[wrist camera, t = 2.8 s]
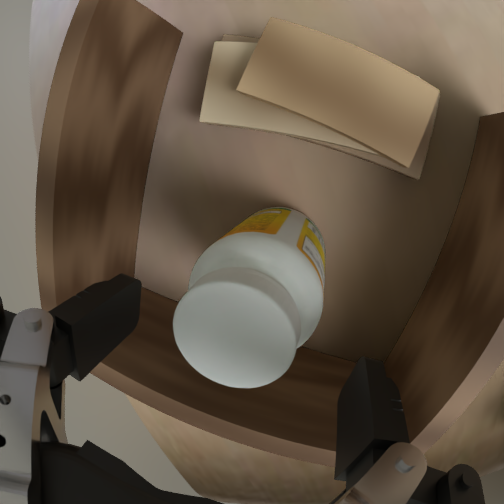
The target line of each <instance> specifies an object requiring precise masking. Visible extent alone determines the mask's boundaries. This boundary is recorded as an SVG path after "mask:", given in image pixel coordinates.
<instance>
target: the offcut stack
mask: <svg viewBox="0 0 504 504" xmlns="http://www.w3.org/2000/svg"><path fill="white" fill-rule="evenodd" d="M439 92H440V90H438V89H437V88H435V87H434V86H432V85H430V84H429V83H427V82H425V81H424V80H422V79H420V77H419V76H416V75H413V74H412V73H410V72H408V71H406V70H405V69H403V68H401V67H399V66H397V65H395V64H393V63H391V62H389V61H387V60H385V59H383V58H381V57H379V56H377V55H375V54H373V53H371V52H369V51H366V50H364V49H362V48H360V47H357V46H355V45H353V44H350V43H348V42H346V41H343V40H341V39H338V38H335V37H333V36H330V35H327V34H325V33H322V32H319V31H316V30H313V29H310V28H307V27H304V26H301V25H298V24H295V23H291V22H288V21H284V20H281V19H277V18H273V17H270V19H269V21H268V23H267V25H266V27H265V29H264V31H263V33H262V35H261V37H260V38H253V37H246V36H237V35H227V34H224V35H223V38H222V41H215V43H214V47H213V52H212V57H211V61H210V66H209V71H208V76H207V81H206V86H205V92H204V97H203V103H202V108H201V114H200V120H199V122H203V123H207V124H212V125H221V126H229V127H237V128H244V129H251V130H258V131H264V132H271V133H276V134H282V135H287V136H291V137H294V138H298V139H302V140H305V141H308V142H312V143H315V144H318V145H322V146H325V147H328V148H331V149H334V150H337V151H340V152H343V153H346V154H349V155H352V156H355V157H358V158H361V159H364V160H366V161H369V162H372V163H375V164H377V165H380V166H383V167H385V168H388V169H390V170H393V171H395V172H398V173H400V174H403V175H405V176H408V177H410V178H413V179H417V180H419V179H420V176H421V172H422V169H423V165H424V162H425V158H426V155H427V151H428V147H429V143H430V139H431V135H432V131H433V127H434V122H435V118H436V113H437V109H438V104H439V99H440V93H439Z"/></svg>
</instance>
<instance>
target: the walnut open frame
mask: <svg viewBox="0 0 504 504" xmlns="http://www.w3.org/2000/svg"><path fill="white" fill-rule="evenodd" d="M182 35H183V33H182V32H181V31H180V30H178V29H177V28H176V27H174V26H173V25H172V24H170V23H169V22H167V21H166V20H164V19H163V18H162V17H160V16H159V15H157V14H156V13H154V12H153V11H151V10H150V9H148V8H147V7H145V6H144V5H142V4H141V3H139V2H138V1H136V0H80V1H79V3H78V6H77V8H76V10H75V13H74V15H73V18H72V20H71V23H70V26H69V28H68V31H67V34H66V37H65V40H64V43H63V46H62V49H61V52H60V55H59V59H58V62H57V66H56V69H55V73H54V77H53V81H52V85H51V89H50V94H49V98H48V103H47V108H46V113H45V118H44V124H43V131H42V137H41V145H40V153H39V162H38V174H37V187H36V255H37V271H38V282H39V291H40V300H41V307H42V309H43V310H45V311H47V312H49V311H50V310H52V309H53V308H55V307H56V306H58V305H60V304H61V303H63V302H64V301H66V300H68V299H69V298H71V297H72V296H76V294H77V293H79V292H81V291H84V289H85V288H87V287H89V286H90V285H92V284H94V283H98V282H102V281H109V280H110V279H112V278H114V277H115V276H117V275H119V274H120V273H123V274H126V275H128V276H130V277H133V278H134V270H135V259H136V249H137V240H138V231H139V224H140V216H141V209H142V202H143V196H144V189H145V183H146V178H147V172H148V167H149V161H150V156H151V151H152V146H153V141H154V137H155V132H156V128H157V123H158V119H159V115H160V111H161V107H162V103H163V99H164V95H165V91H166V87H167V84H168V80H169V77H170V73H171V70H172V66H173V63H174V60H175V56H176V53H177V50H178V47H179V44H180V41H181V38H182ZM177 305H178V302H176V301H173V300H171V299H168V298H166V297H164V296H161V295H159V294H156V293H154V292H152V291H149V290H147V289H145V288H142V287H141V300H140V315H139V321H138V324H137V326H136V328H135V329H134V331H133V332H132V333H131V334H130V335H128V336H127V337H126V338H125V339H124V340H123V341H122V342H121V343H120V344H119V345H118V346H117V347H116V348H115V349H114V350H113V351H112V352H111V353H109V354H108V355H107V356H106V357H105V358H104V359H103V360H102V361H101V362H100V363H99V364H98V365H97V366H96V367H95V368H94V369H93V370H92V371H91V372H90V373H91V374H93V375H94V376H96V377H98V378H99V379H101V380H103V381H104V382H106V383H108V384H109V385H111V386H113V387H115V388H116V389H118V390H120V391H122V392H124V393H125V394H127V395H129V396H131V397H133V398H135V399H137V400H139V401H141V402H143V403H144V404H146V405H148V406H150V407H153V408H155V409H157V410H159V411H161V412H163V413H165V414H167V415H169V416H172V417H174V418H176V419H178V420H181V421H183V422H185V423H188V424H190V425H192V426H195V427H197V428H200V429H202V430H205V431H207V432H210V433H213V434H215V435H218V436H221V437H223V438H226V439H229V440H232V441H235V442H238V443H241V444H244V445H247V446H250V447H253V448H257V449H260V450H263V451H267V452H270V453H274V454H277V455H281V456H285V457H289V458H293V459H297V460H302V461H306V462H311V463H315V464H320V465H325V466H331V467H335V461H336V441H337V403H338V398H339V395H340V392H341V390H342V388H343V386H344V384H345V383H346V381H347V379H348V378H349V376H350V374H351V372H352V371H353V369H354V367H355V365H356V364H357V363H355V362H352V361H348V360H344V359H341V358H337V357H334V356H331V355H327V354H324V353H320V352H317V351H314V350H311V349H307V348H304V347H301V346H300V347H299V348H297V349H296V353H295V357H294V359H293V361H292V363H291V365H290V367H289V368H288V370H287V371H286V372H285V373H284V374H283V375H282V376H281V377H279V378H278V379H277V380H275V381H273V382H271V383H269V384H267V385H264V386H260V387H256V388H235V387H229V386H225V385H222V384H219V383H217V382H215V381H212V380H210V379H209V378H207V377H205V376H203V375H202V374H200V373H199V372H198V371H197V370H196V369H194V368H193V367H192V366H191V365H190V364H189V363H188V361H187V360H186V359H185V358H184V356H183V355H182V353H181V351H180V350H179V348H178V346H177V344H176V341H175V337H174V331H173V318H174V313H175V310H176V307H177ZM503 359H504V112H502V113H497V114H492V115H487V116H482V117H480V123H479V128H478V133H477V138H476V142H475V147H474V151H473V155H472V160H471V163H470V167H469V171H468V175H467V178H466V182H465V185H464V189H463V192H462V195H461V198H460V202H459V205H458V208H457V211H456V214H455V216H454V219H453V222H452V225H451V228H450V230H449V233H448V236H447V238H446V241H445V243H444V246H443V248H442V251H441V253H440V256H439V258H438V261H437V263H436V265H435V268H434V270H433V272H432V274H431V277H430V279H429V281H428V283H427V285H426V287H425V290H424V292H423V294H422V296H421V298H420V300H419V302H418V304H417V306H416V308H415V310H414V312H413V314H412V316H411V317H410V319H409V321H408V323H407V325H406V327H405V329H404V330H403V332H402V334H401V336H400V337H399V339H398V341H397V343H396V344H395V346H394V348H393V350H392V351H391V353H390V355H389V356H388V358H387V360H386V361H385V363H384V368H385V372H386V377H388V378H392V380H393V381H394V383H395V384H396V386H397V387H398V389H399V392H400V397H401V403H402V406H403V412H404V415H405V420H406V425H407V430H408V435H409V441H410V444H412V445H414V446H415V447H417V448H418V449H419V450H420V451H421V452H422V453H423V454H424V453H425V452H426V451H427V450H428V449H429V448H430V447H431V446H432V445H433V444H434V443H435V442H436V441H437V440H438V439H439V438H440V437H441V436H442V435H443V434H444V433H445V432H446V431H447V430H448V429H449V428H450V427H451V426H452V425H453V424H454V422H455V421H456V420H457V419H458V418H459V417H460V416H461V415H462V413H463V412H464V411H465V410H466V409H467V408H468V406H469V405H470V404H471V403H472V401H473V400H474V399H475V398H476V396H477V395H478V394H479V393H480V391H481V390H482V389H483V387H484V386H485V385H486V383H487V382H488V381H489V379H490V378H491V377H492V375H493V374H494V372H495V371H496V370H497V368H498V367H499V365H500V364H501V362H502V361H503Z"/></svg>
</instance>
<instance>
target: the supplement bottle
mask: <svg viewBox="0 0 504 504" xmlns="http://www.w3.org/2000/svg"><path fill="white" fill-rule="evenodd" d="M324 278H325V245H324V241H323V238H322V235H321V233H320V231H319V230H318V228H317V227H316V225H315V224H314V223H313V222H312V221H311V220H310V219H309V218H308V217H307V216H305V215H304V214H302V213H301V212H298V211H296V210H294V209H290V208H286V207H272V208H267V209H263V210H260V211H258V212H256V213H254V214H252V215H251V216H249V217H248V218H247V219H245V220H244V221H243V222H241V223H240V224H239V225H237V226H236V227H235V228H233V229H232V230H231V231H229V232H228V233H227V234H225V235H224V236H223V237H221V238H220V239H218V240H217V241H216V242H215V243H213V244H212V245H211V246H210V247H208V248H207V249H206V250H205V251H204V252H203V253H202V255H201V256H200V257H199V259H198V260H197V262H196V263H195V265H194V267H193V270H192V273H191V276H190V280H189V287H188V291H187V292H186V293H185V295H184V296H183V297H182V299H181V300H180V301H179V303H178V305H177V307H176V310H175V313H174V318H173V331H174V337H175V341H176V344H177V346H178V348H179V350H180V351H181V353H182V355H183V356H184V358H185V359H186V360H187V361H188V363H189V364H190V365H191V366H192V367H193V368H194V369H196V370H197V371H198V372H199V373H200V374H202V375H203V376H205V377H207V378H209V379H210V380H212V381H215V382H217V383H219V384H222V385H225V386H229V387H235V388H256V387H260V386H264V385H267V384H269V383H271V382H273V381H275V380H277V379H278V378H279V377H281V376H282V375H283V374H284V373H285V372H286V371H287V370H288V368H289V367H290V365H291V363H292V361H293V359H294V357H295V353H296V349H297V348H299V347H300V346H301V345H303V344H304V343H305V342H306V341H307V340H308V339H309V337H310V336H311V335H312V334H313V332H314V330H315V329H316V327H317V325H318V323H319V320H320V317H321V314H322V309H323V299H324Z"/></svg>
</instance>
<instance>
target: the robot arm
mask: <svg viewBox="0 0 504 504" xmlns="http://www.w3.org/2000/svg"><path fill="white" fill-rule="evenodd" d="M140 300H141V282H140V280H138V279H135V278H133V277H130V276H128V275H126V274H123V273H120V274H119V275H117V276H115V277H114V278H112V279H110V280H109V281H102V282H98V283H94V284H92V285H90V286H89V287H87V288H85V289H84V291H81V292H79V293H77V294H76V296H72V297H71V298H69V299H68V300H66V301H64V302H63V303H61V304H60V305H58V306H56V307H55V308H53V309H52V310H50V311H49V312H47V311H45V310H43V309H38V308H30V309H26V310H23V311H21V312H19V313H18V314H15V313H12V312H9V311H7V310H4V309H3V304H2V299H1V297H0V504H223V503H220V502H217V501H214V500H211V499H208V498H203V497H195V496H189V495H183V494H178V493H172V492H168V491H163V490H160V489H158V488H156V487H154V486H153V485H152V484H150V483H149V482H148V481H146V480H145V479H144V478H143V477H141V476H140V475H139V474H137V473H136V472H135V471H134V470H133V469H132V468H130V467H129V466H128V465H127V464H126V463H125V462H123V461H122V460H120V459H118V458H117V457H115V456H113V455H111V454H110V453H108V452H106V451H105V450H103V449H101V448H100V447H98V446H96V445H95V444H93V443H92V442H90V441H88V440H87V441H86V442H85V443H84V445H83V446H82V447H79V446H75V445H72V444H68V442H67V437H66V433H65V418H64V417H65V380H64V379H65V378H66V377H67V376H68V375H71V376H72V377H74V378H75V379H77V380H78V381H81V380H82V379H83V378H84V377H86V375H88V374H89V373H90V372H91V371H92V370H93V369H94V368H95V367H96V366H97V365H98V364H99V363H100V362H101V361H102V360H103V359H104V358H105V357H106V356H107V355H108V354H109V353H111V352H112V351H113V350H114V349H115V348H116V347H117V346H118V345H119V344H120V343H121V342H122V341H123V340H124V339H125V338H126V337H127V336H128V335H130V334H131V333H132V332H133V331H134V329H135V328H136V326H137V324H138V321H139V315H140ZM334 480H341V481H346V488H345V489H344V490H343V491H342V492H341V493H340V494H339V495H338V496H336V497H335V498H334V499H333V500H332V501H331V502H330V503H329V504H485V501H484V495H483V489H482V484H481V480H480V477H479V475H478V473H477V472H476V471H475V470H474V469H473V468H472V467H470V466H468V465H465V464H458V465H456V466H454V467H453V468H452V469H451V470H449V471H448V472H447V473H446V472H443V471H440V470H437V469H434V468H431V467H429V466H427V461H426V458H425V456H424V455H423V453H422V452H421V451H420V450H419V449H418V448H417V447H415V446H414V445H412V444H410V441H409V435H408V430H407V425H406V420H405V415H404V412H403V406H402V403H401V397H400V392H399V389H398V387H397V386H396V384H395V383H394V381H393V380H392V378H388V377H386V372H385V368H384V364H383V362H382V361H379V360H375V359H371V358H368V357H364V356H362V357H361V358H360V359H359V360H358V362H357V364H356V365H355V367H354V369H353V371H352V372H351V374H350V376H349V378H348V379H347V381H346V383H345V384H344V386H343V388H342V390H341V392H340V395H339V398H338V403H337V441H336V461H335V477H334Z"/></svg>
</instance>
